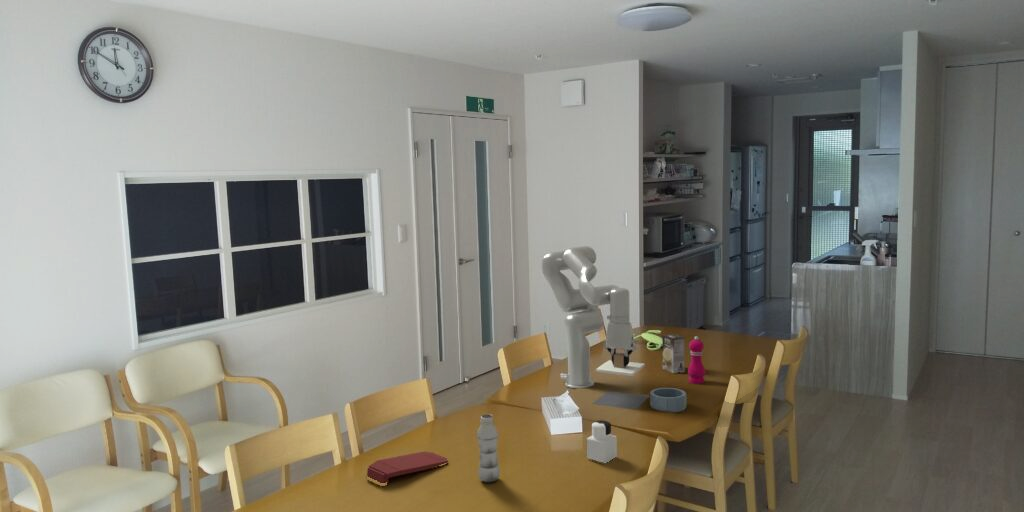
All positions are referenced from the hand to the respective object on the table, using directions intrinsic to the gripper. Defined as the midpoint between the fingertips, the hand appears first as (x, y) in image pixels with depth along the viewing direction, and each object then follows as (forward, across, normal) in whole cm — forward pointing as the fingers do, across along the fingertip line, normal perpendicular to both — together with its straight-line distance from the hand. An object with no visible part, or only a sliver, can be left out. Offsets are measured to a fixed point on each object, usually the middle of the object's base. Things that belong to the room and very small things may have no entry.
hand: (620, 364), depth 286 cm
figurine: (+16, -17, +96) cm, 99 cm away
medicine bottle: (+15, +14, -57) cm, 61 cm away
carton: (+15, -38, -90) cm, 99 cm away
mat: (+15, 0, 0) cm, 15 cm away
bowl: (+15, +19, 0) cm, 24 cm away
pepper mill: (+15, +21, +36) cm, 44 cm away
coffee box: (+15, +7, +50) cm, 53 cm away
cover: (+2, 0, 0) cm, 2 cm away
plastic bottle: (+15, -11, -86) cm, 88 cm away
